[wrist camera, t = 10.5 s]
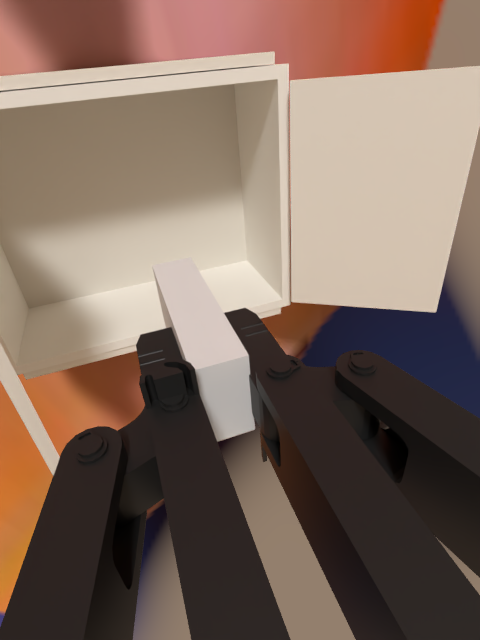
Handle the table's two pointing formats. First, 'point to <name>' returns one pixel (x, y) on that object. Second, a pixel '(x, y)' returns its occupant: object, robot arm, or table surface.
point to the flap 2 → (379, 184)
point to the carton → (138, 199)
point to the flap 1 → (27, 411)
